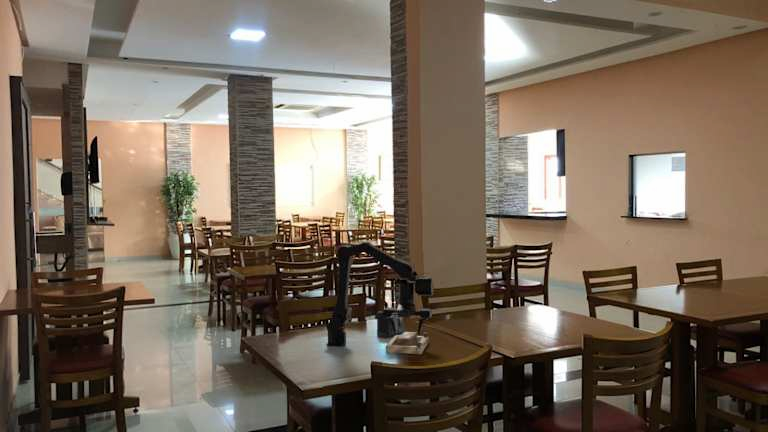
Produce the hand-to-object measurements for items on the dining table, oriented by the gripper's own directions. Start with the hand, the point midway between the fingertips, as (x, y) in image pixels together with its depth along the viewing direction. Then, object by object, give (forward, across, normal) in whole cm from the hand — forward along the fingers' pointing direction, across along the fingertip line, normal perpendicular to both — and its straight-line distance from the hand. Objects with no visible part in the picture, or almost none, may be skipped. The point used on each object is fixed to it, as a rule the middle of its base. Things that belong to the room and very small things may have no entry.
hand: (407, 334), depth 241 cm
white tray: (+5, 0, 0) cm, 5 cm away
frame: (+5, 0, 0) cm, 5 cm away
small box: (+5, -11, +20) cm, 23 cm away
